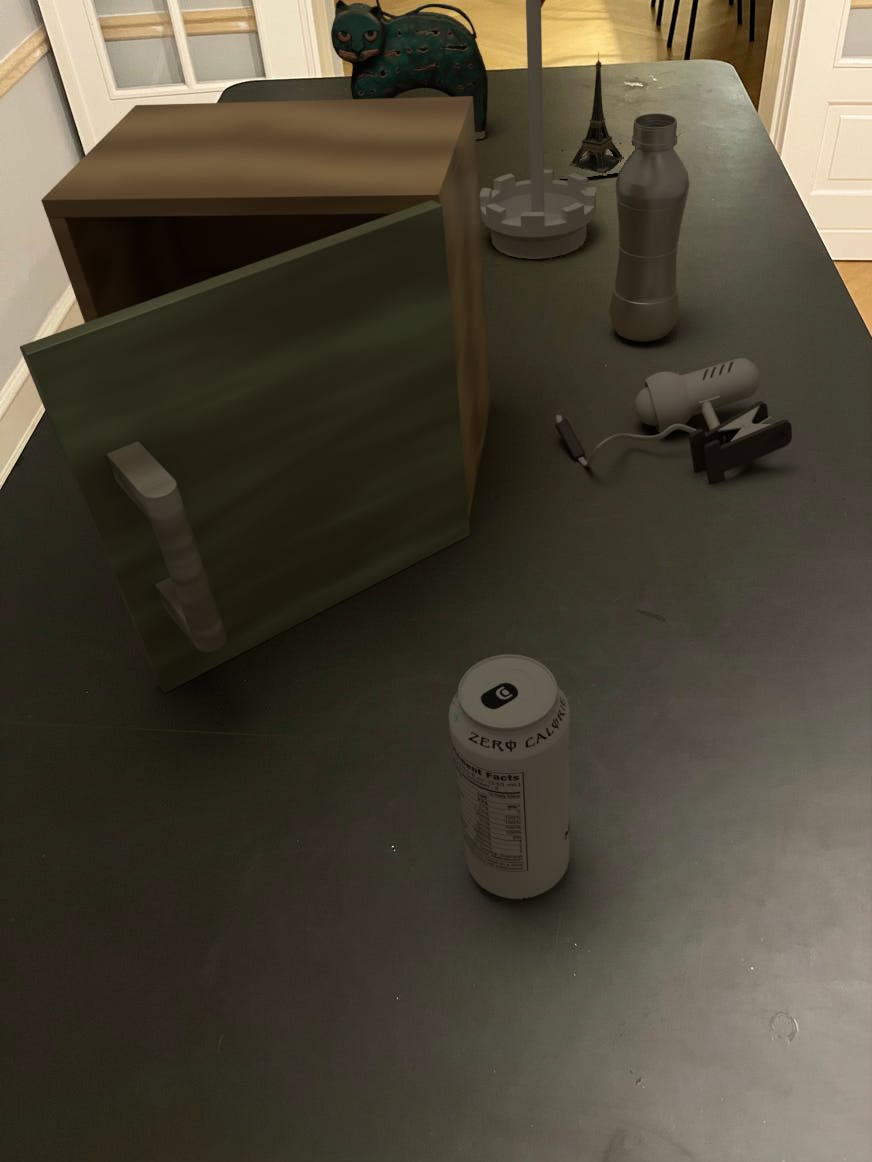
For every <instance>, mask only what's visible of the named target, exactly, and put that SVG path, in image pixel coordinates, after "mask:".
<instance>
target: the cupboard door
mask: <svg viewBox="0 0 872 1162" xmlns="http://www.w3.org/2000/svg"><path fill="white" fill-rule="evenodd" d="M19 350H20V352H21V354H22V357H23V359H24V362H25V364H26V367H27V369H28V372H29V374H30V376H31V378H32V381H33V384H34V387H35V389H36V391H37V394H38V396H39V399H40V401H41V404H42V406H43V408H44V411H45V413H46V415H47V418H48V420H49V423H50V425H51V427H52V430H53V433H54V435H55V438H56V440H57V443H58V444H59V447H60V451H61V452H62V455H63V457H64V460H65V462H66V464H67V467H68V469H69V472H70V474H71V476H72V479H73V481H74V484H75V486H76V489H77V491H78V493H79V496H80V499H81V500H82V503H83V506H84V508H85V510H86V513H87V515H88V518H89V520H90V524H91V526H92V528H93V531H94V532H95V536H96V537H97V540H98V542H99V545H100V547H101V549H102V552H103V554H104V557H105V560H106V562H107V565H108V566H109V569H110V571H111V574H112V577H113V579H114V581H115V584H116V586H117V589H118V591H119V593H120V596H121V598H122V601H123V603H124V606H125V608H126V610H127V613H128V616H129V618H130V621H131V623H132V625H133V628H134V630H135V633H136V635H137V637H138V641H139V643H140V645H141V648H142V650H143V652H144V654H145V657H146V659H147V662H148V665H149V667H150V669H151V672H152V674H153V677H154V679H155V681H156V683H157V685H158V687H159V688H160V690H161V691H162V692H163V693H164V694H166V693H168V692H170V691H172V690H174V689H176V688H177V687H179V686H181V685H183V684H186V683H188V682H189V681H191V680H193V679H195V678H197V677H199V676H202V675H203V674H205V673H207V672H208V671H210V670H213V669H215V668H217V667H218V666H220V665H222V664H224V663H226V662H228V661H230V660H232V659H234V658H235V657H238V656H239V655H241V654H243V653H245V652H247V651H249V650H251V649H253V648H255V647H257V646H259V645H261V644H263V643H265V642H266V641H268V640H271V639H272V638H275V637H276V636H278V635H280V634H282V633H285V632H286V631H287V630H289V629H292V628H293V627H296V626H297V625H299V624H301V623H303V622H305V621H307V620H309V619H311V618H313V617H315V616H316V615H319V614H321V613H323V612H324V611H326V610H328V609H331V608H332V607H334V606H336V605H338V604H340V603H342V602H344V601H346V600H348V599H350V598H352V597H353V596H355V595H357V594H359V593H361V592H363V591H365V590H367V589H369V588H371V587H373V586H374V585H376V584H378V583H380V582H383V581H385V580H386V579H388V578H390V577H392V576H393V575H396V574H398V573H400V572H402V571H403V570H405V569H408V568H409V567H412V566H413V565H416V564H417V563H419V562H421V561H423V560H425V559H427V558H429V557H431V556H432V555H435V554H436V553H439V552H441V551H442V550H444V549H446V548H448V547H450V546H452V545H453V544H455V543H457V542H460V541H461V540H463V539H466V538H468V537H470V536H471V529H470V515H469V516H468V504H467V492H466V480H465V469H464V457H463V445H462V433H461V421H460V410H459V398H458V386H457V374H456V362H455V351H454V339H453V327H452V315H451V303H450V292H449V280H448V268H447V256H446V244H445V232H444V221H443V209H442V205H440V204H438V203H436V202H434V201H432V200H430V201H427V202H425V203H422V204H419V205H416V206H413V207H411V208H408V209H405V210H402V211H399V212H396V213H394V214H391V215H388V216H385V217H382V218H380V219H377V220H374V221H371V222H368V223H365V224H363V225H360V226H357V227H354V228H351V229H349V230H346V231H343V232H340V233H337V234H334V235H332V236H329V237H326V238H323V239H320V240H318V241H315V242H312V243H309V244H306V245H303V246H301V247H298V248H295V249H292V250H289V251H287V252H284V253H281V254H278V255H275V256H273V257H270V258H267V259H264V260H261V261H258V262H256V263H253V264H250V265H247V266H244V267H242V268H239V269H236V270H233V271H230V272H227V273H225V274H222V275H219V276H216V277H213V278H211V279H208V280H205V281H202V282H199V283H196V284H194V285H191V286H188V287H185V288H182V289H180V290H177V291H174V292H171V293H168V294H165V295H163V296H160V297H157V298H154V299H151V300H149V301H146V302H143V303H140V304H137V305H134V306H132V307H129V308H126V309H123V310H120V311H118V312H115V313H112V314H109V315H106V316H103V317H101V318H98V319H95V320H92V321H89V322H87V323H85V322H84V323H81V324H78V325H75V326H73V327H69V328H67V329H64V330H62V331H59V332H56V333H53V334H50V335H47V336H44V337H42V338H39V339H36V340H33V341H31V342H27V343H25V344H21V345H20V346H19Z"/></svg>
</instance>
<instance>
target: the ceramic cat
mask: <svg viewBox="0 0 872 1162" xmlns="http://www.w3.org/2000/svg"><path fill="white" fill-rule="evenodd" d="M375 2H376V5H374V6H371V5H369V4H367V3H362V2H353V3H351V4H347V3H345V2H344V0H338V1H337V2H335V9H334V10H335V11H334V19H333V22H332V25H331V30H330V36H331V37H330V38H331V44H332V47H333V50H334V52H335V53H336V55H337V57H339V58H340V59H341V60H342V61H344V62H346V63H349V64H351V66H352V67H351V68H352V69H351V77H350V91H351V97H352V99H390V98H396V97H397V96H399V95H400V94H404V93H406V92H409V91H413V90H417V89H431V90H434V91H439V92H441V93H444V94H445V95H447V96H448V97H468V96H472V97H473V107H474V125H475V132H482V131H485V130H486V131H487V122H488V121H487V120H488V100H489V99H488V96H489V95H488V94H489V78H488V72H487V71H488V70H487V67H486V64H485V62H484V59H483V55H482V54H481V51H480V49H479V45H478V43H477V38H478V37H477V32H476V29H475V26H474V25H473V22H472V21H471V19H470V17H469V16H468V15H467V14H466V12H464V11H463V10H462V9H461V8H459V7H456V6H453V5H451V4H445V3H427V4H424V5H421V6H419V7H417V8H416V9H412V10H409V11H408V12H406V13H405V12H404V13H403V14H400V15H395V14H391V13H389V12H387V11H384V10H382V9H383V8H382V7H381V4H380V0H375ZM431 8H439V9H444V10H450V11H453V12H455V13H457V14H459V15H460V16H461V17H462V18H463V19H464V20H466V22H467V23H468V24H469V26H470V28H471V30H472V31H470V30H469V29H468V28H467V27H466V26H465V25H464V24H463V23H462V22H461V21H459V20H457V19H456V18H455V17H453V16H451V15H448V14H445V13H442V12H441V13H439V12H435V11H422V10H425V9H431Z"/></svg>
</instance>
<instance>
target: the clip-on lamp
mask: <svg viewBox="0 0 872 1162" xmlns="http://www.w3.org/2000/svg"><path fill="white" fill-rule="evenodd" d="M760 381H761V377H760V371H759V369H758V367H757V366H756V364H755V363H754V362H753V361H751V360H750V359H748V358H745V357H738V358H735V359H732V360H731V359H730V360H728V361H725V362H722V363H719V364H714V365H711V366H708V367H704V368H702V369H701V368H700V369H698V370H694V371H692V372H691V371H690V372H688V373H684V374H682V375H681V374H679V373H676V372H673V371H660V372H656V373H654V374H652V375H650V376H648V377H647V378H646V379H645V380H644V388H643V389H642V390H640V392H639V393H638V394H637V396H636V398H635V401H634V410H635V411H634V412H635V414H636V416H637V418H638V419H639V420H640V421H641V422H642V423H644V424H645V425H648V426H654V427H655V429H656V431H657V432H658V434H655V435H642V434H641V435H640V434H632V433H616V434H613V435H611V436H609V437H606V438H605V439H603V440H602V441H601V442H600V443H598V445H596V446H595V448H594V449H593V450H592V452H591V455H590V456H589V459H588V461H587V460H586V459H585V456H586V451H585V450H584V448H583V446H582V444H581V443H580V440H579V439H578V437H577V435H576V433H575V431H574V430H573V428H572V426H571V424H570V422H569V421H568V419H563V417H562V414H556V415H555V420H556V424H555V428H556V431H557V432H558V434H559V436H560V438H561V440H562V442H563V444H564V445H565V447H566V449H567V450H568V452H569V454H570V456H571V458H572V460H573V461H576V462H577V461H579V463H580V464H581V465H582V466H583V467H589V466H592V464H593V463H594V459H595V457H596V455H597V453H598V451H599V450H600V449H601V448H602V447H603V446H605V445H606V444H607V443H610V442H612V441H613V440H619V439H627V440H634V441H644V442H655V441H659V440H663V439H664V438H666V437H667V436H669V434H671V433H672V432H674V431H677V430H680V431H683V432H686V433H689V436H688V440H689V447H690V454H691V460H692V467H693V471H694V472H695V473H696V474H697V473H700V472H704V471H706V475H707V481H708V483H709V484H710V485H714V484H718V483H720V482H722V481H723V480H724V479H725V472H727V471H730V470H732V469H735V468H737V467H740V466H742V465H745V464H747V463H749V462H752V461H754V460H756V459H760V458H761V457H763V456H766V455H768V454H771V453H773V452H775V451H778V450H781V449H783V448H785V447H787V446H788V445H789V444H790V443H791V442H792V440H793V431H792V424H791V422H790V421H789V420H787V419H782V420H779V421H776V422H773V423H771V422H772V419H773V418H772V416H771V415H770V416H769V412H768V405H767V404H766V403H765V402H764V401H761V400H760V401H756V402H755V403H754V404H752V405H750V406H748V407H747V408H745V409H743V410H742V411H740V412H739V413H737V414H734V415H733V416H732V417H730V418H729V419H727V420H725V421H724V422H722V423H720V421H719V418H718V416H717V413H716V412H715V409H717V408H720V407H723V406H727V405H730V404H733V403H737V402H740V401H743V400H746V399H749V398H751V397H753V396H754V395H755V394H756V392H757V390H758V388H759V385H760ZM699 414H702V415H703V418H704V420H705V422H706V424H707V427H708V429H709V430H708V431H707V432H706V431H705V430H704V429H703V428H697V429H696V428H693V427H692V426H688V425H687V422H688V421H689V420H690V419H691V417H693V416H695V415H699Z"/></svg>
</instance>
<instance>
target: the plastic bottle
mask: <svg viewBox="0 0 872 1162" xmlns="http://www.w3.org/2000/svg"><path fill="white" fill-rule="evenodd" d="M632 129H633V130H632V136H631V141H632V145H633V146H635V150H634V151H633V152H632V154H631V155H630V156H629V157H628V159H627V160H626V162H625V163H624V165H623V167H622V168H621V170H620V171H619V174H617V176H616V180H615V196H616V197H615V198H616V199H615V200H616V209H617V221H618V241H619V243H618V261H617V267H616V268H617V269H616V275H615V282H614V283H615V284H614V287H613V291H612V293H611V299H610V305H609V316H610V317H609V318H610V323H611V326H612V327H613V329H614V330H615V332H616V333H617V335H619V336H620V337H622V338H624V339H626V340H629V341H633V342H652V341H658V340H660V339H663V338H664V337H665V338H666V337H667V336H668V334H669V333H670V332H671V331H672V330H673V329H674V328H675V326H676V323H677V319H678V315H679V309H680V307H679V293H678V288H677V254H678V247H679V244H678V243H679V240H680V235H681V234H680V233H681V226H682V221H683V218H684V213H685V209H686V205H687V202H688V201H687V200H688V196H689V191H690V186H691V185H690V178H689V172H688V170H687V167H685V164H684V162H683V161H682V159H681V157H680V156H679V155H678V154H677V152H676V151H675V146H676V145H677V144H678V135H677V131H678V130H677V129H678V121H677V118H676V117H675V116H673V115H670V114H667V113H647V114H646V113H645V114H642V115H639V116H637V117H635V118H634V120H633V128H632Z"/></svg>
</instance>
